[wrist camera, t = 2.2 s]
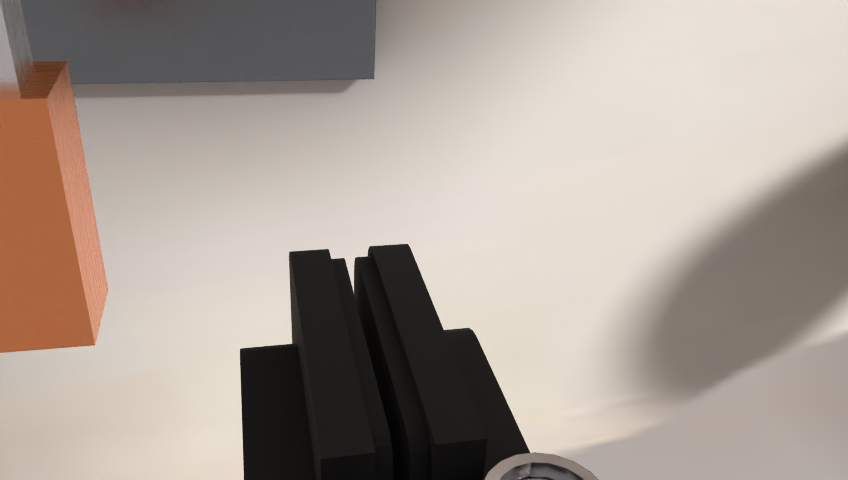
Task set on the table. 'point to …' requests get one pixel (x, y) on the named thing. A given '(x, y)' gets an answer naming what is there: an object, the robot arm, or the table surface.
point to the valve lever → (43, 204)
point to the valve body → (204, 39)
